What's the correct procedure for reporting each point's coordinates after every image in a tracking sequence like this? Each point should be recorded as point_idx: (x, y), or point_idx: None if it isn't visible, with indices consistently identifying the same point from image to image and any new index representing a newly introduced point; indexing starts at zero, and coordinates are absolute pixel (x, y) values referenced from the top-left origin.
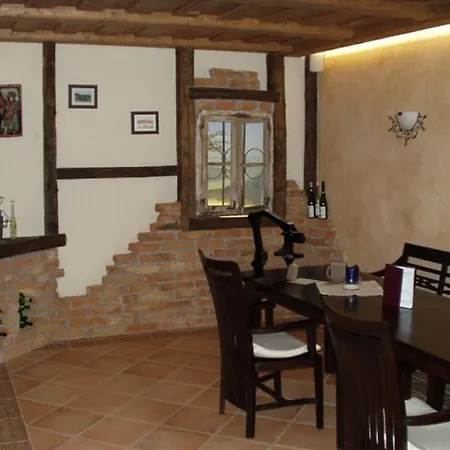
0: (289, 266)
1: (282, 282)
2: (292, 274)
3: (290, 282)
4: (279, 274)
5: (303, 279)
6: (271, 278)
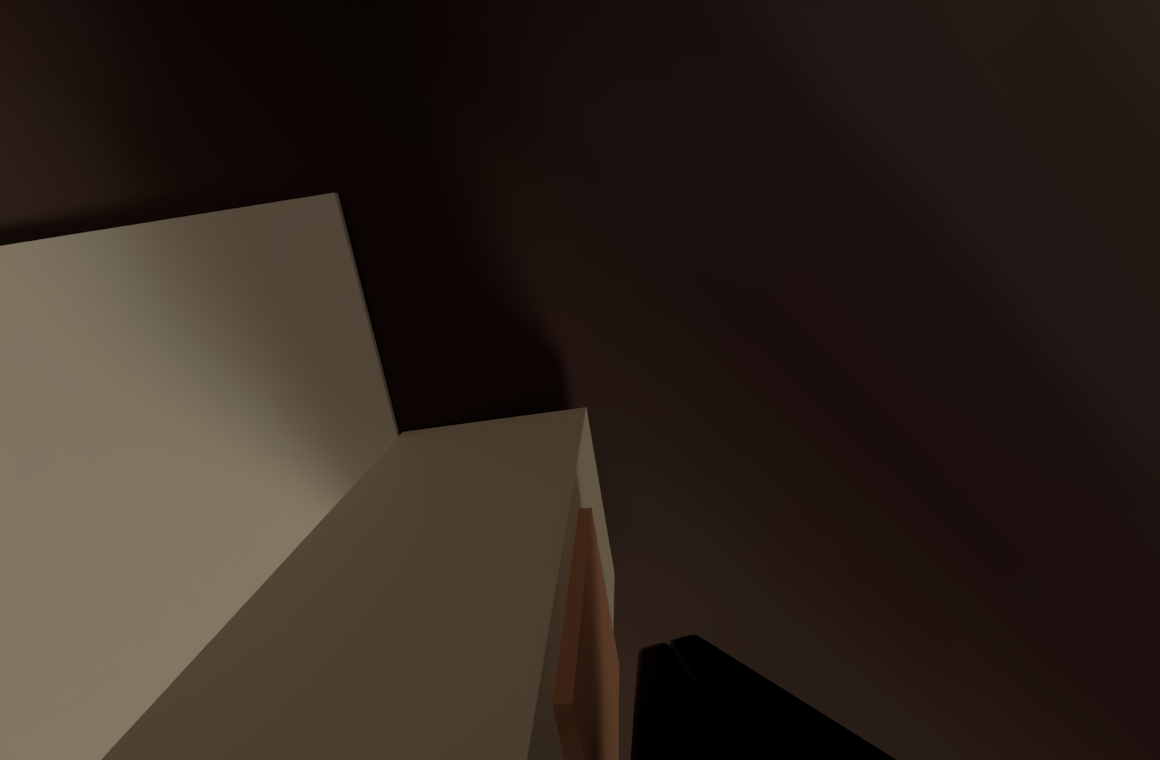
0: (503, 687)
1: (366, 48)
2: (342, 516)
3: (180, 218)
4: (1125, 666)
5: None
6: (990, 242)
